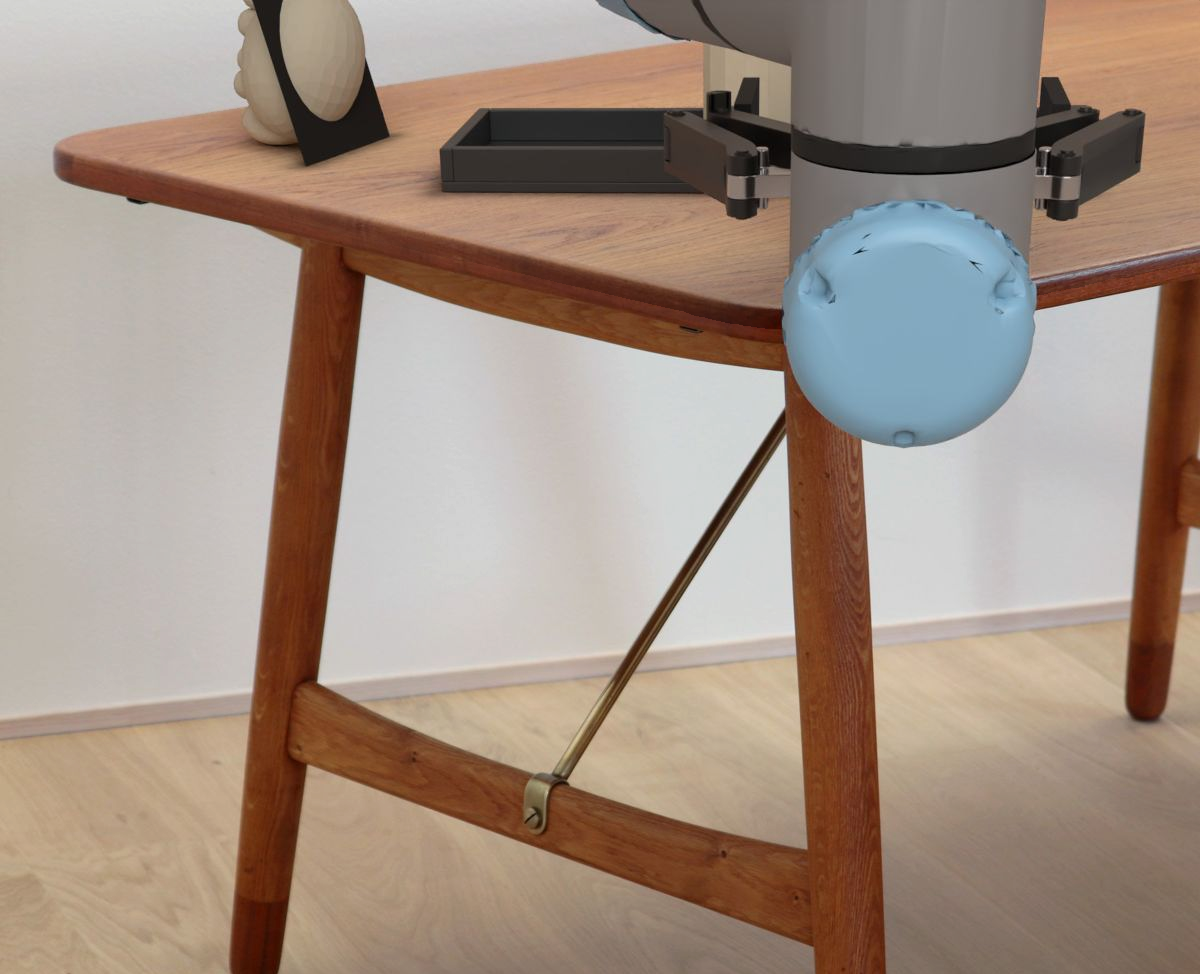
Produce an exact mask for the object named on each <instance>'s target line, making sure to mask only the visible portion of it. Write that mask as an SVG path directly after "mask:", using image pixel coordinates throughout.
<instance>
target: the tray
mask: <svg viewBox="0 0 1200 974" xmlns="http://www.w3.org/2000/svg"><path fill="white" fill-rule="evenodd" d="M674 109H681V110H683V111H684V112H690V113H692V114H694V115H696V116H698V117H701V118H703V107H491V108H490V107H480V108H478V109H477V110H476V111H475V112H474V113H473V114H472V115H471V116H470V117H469V119H468V120H467V121H466V122H464V123H463V125H461V126H460V128H458V130H456V132H454V134H453V135H452V136H451V137H450V138H449V139H448V140H447V141H446V142H445V143H444V144H443V145H442V146H441V147H440V148H439V151H438V152H439V165H440V166H439V167H440V180H441V182H440V183H441V192H443V193H625V194H626V193H628V194H629V193H633V194H634V193H638V194H639V193H641V194H642V193H643V194H646V193H647V194H649V193H651V194H653V193H655V194H658V193H659V194H661V193H662V194H663V193H664V194H675V193H676V194H704V193H703V192H702V191H700V190H698V189H696V188H694V187H693V186H691V185H689V184H687V183H686V182H684V181H682V180H680V179H679V178H677V177H675V176H673V175H672V174H670V173H668V172H666V171H665V170H664V113H667V111H672V110H674ZM1036 118H1039V106H1037V112H1036Z"/></svg>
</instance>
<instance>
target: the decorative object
mask: <svg viewBox="0 0 1200 974" xmlns="http://www.w3.org/2000/svg"><path fill="white" fill-rule="evenodd" d="M242 1H243V2H244V4H245V5H246V7H248V8H246V9H244V10H242V12H241V13H240V14H239V16H238V19H237V30H238V32H239V33H240V34H241V35H242V36H243V41H242V46H241V48H240V49H239V51H238V52H237V56H236V63H237V65H238V67H239V69H240V70H239V71H238V72H237V73H236V74H235V75H234V79H233V89H234V91H235V93H236V94H237V95H238V96H239V97H240V98H242V99H244V100H246V101H247V102H246V103H247V104H248V106H247V107H246V108H245V109H244V111H243V113H242V115H241V126H242V128H243V130H244V131H245V132H246V133H247V135H248V136H249V137H251V138H252V139H254V140H255V141H258V142H260V143H263V144H267V145H273V146H274V145H275V146H276V145H277V146H285V145H293V144H298V146H299V149H300V152H301V155H302V159H303V162H304V164H305V167H309V166H312V165H314V164H317V163H320V162H323V161H325V160H329V159H332V158H334V157H337V156H339V155H342V154H345V153H348V152H350V151H354V150H356V149H360V148H362V147H365V146H368V145H370V144H373V143H376V142H379V141H381V140H382V141H383V140H384V139H388V138H389V137H391V136H390V131H389V128H388V125H387V121H386V119H385V115H384V112H383V109H382V106H381V105H382V104H381V102H380V99H379V95H378V92H377V89H376V87H375V83H374V80H373V77H372V74H371V71H370V67H369V64H368V60H367V58H366V43H365V36H364V31H363V26H362V24H361V21H360V19H359V16H358V14H357V12H356V10H355V8H354V7H353V6H352V4H351V2H350V1H349V0H242Z"/></svg>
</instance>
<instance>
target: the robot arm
mask: <svg viewBox="0 0 1200 974" xmlns="http://www.w3.org/2000/svg"><path fill="white" fill-rule="evenodd" d="M595 1H596V2H597V3H598V5H599V6H600V7H602V8H603V9H606V10H607V11H610V12H612V13H613V14H615V15H617V16H619V17H622V18H624V19H626V20H629V21H631V22H633V23H636V24H637V25H639V26H640V27H641V28H643V29H644V30H646V31H648V32H649V33H651V34H654V35H663V36H665V37H666V38H669V39H670V40H673V41H686V42H691V41H692V42H693V41H694V42H698V43H702V44H703V43H706V44H710V45H715V46H719V47H723V48H728V49H732V50H736V51H739V52H742V53H745V54H748V55H752V56H755V57H758V58H761V59H765V60H769V61H772V62H776V63H779V64H783V65H786V66H790V67H791V124H790V123H786V122H782V121H778V120H774V119H770V118H766V117H762V116H759V90H760V77H743V80H742V83H741V86H740V89H739V92H738V94H737V97H736V100H735V103H734V106H731V91H723V90H721V91H710V92H707V93H706V120H705V119H703V118H701V117H698V116H696V115H694V114H692V113H690V112H684V111H683V110H681V109H674V110H672V111H667V113H664V170H665V171H666V172H668V173H670V174H672V175H673V176H675V177H677V178H679V179H680V180H682V181H684V182H686V183H687V184H689V185H691V186H693V187H694V188H696V189H698V190H700V191H702V192H703V193H702V194H705V195H707V196H709V197H710V198H711V199H714V200H716V201H717V202H719V203H721V204H723V205H724V206H725V212H726V216H727V217H730V218H734V219H736V220H738V221H746V220H749V219H752V218H754V217H757V215H758V211H759V210H760V211H761V210H766V209H768V208H769V199H777V198H778V199H782V198H786V199H787V198H789V200H790V201H789V247H788V248H789V249H788V252H789V254H788V277H786V278H785V280H784V284H783V289H782V300H781V301H782V302H781V329H782V330H781V331H782V339H783V344H784V346H785V349H786V353H787V359H788V362H789V365H790V369H791V372H792V374H793V376H794V379H795V381H796V382H797V385H798V387H799V388H800V391H801V392H802V394H803V395H804V396H805V398H806V399H807V401H808V402H809V403H810V404H811V406H813V408H814V409H815V410H816V411H817V412H818V413H819V414H821V416H823V417H824V418H825V419H826V420H827V421H828V422H829V423H831V424H832V425H834V426H835V427H836V428H838V429H839V430H841V431H842V432H845V433H847V434H849V435H851V436H853V437H855V438H857V439H859V440H862V441H865V442H867V443H868V442H869V443H872V444H875V445H881V446H886V447H895V448H900V449H908V448H918V447H919V448H920V447H927V446H928V447H929V446H933V445H934V446H935V445H939V444H942V443H945V442H948V441H951V440H954V439H957V438H959V437H961V436H963V435H966V434H967V433H969V432H971V431H973V430H975V429H976V428H978V427H980V426H981V425H982V424H984V423H985V422H986V421H987V420H989V419H990V418H991V417H992V416H993V415H994V414H996V413H997V412H998V411H999V410H1000V409H1001V408H1002V407H1003V406H1004V405H1005V404H1006V403H1007V402H1008V400H1009V399H1010V398H1011V397H1012V395H1013V394H1014V393H1015V391H1016V389H1017V387H1018V386H1019V385H1020V383H1021V380H1022V378H1023V376H1024V375H1025V372H1026V369H1027V368H1028V364H1029V361H1030V358H1031V354H1032V349H1033V343H1034V336H1035V333H1036V332H1035V331H1036V321H1035V318H1034V316H1035V313H1036V310H1037V305H1038V291H1037V289H1038V288H1037V284H1036V282H1035V281H1033V280H1032V279H1031V277H1030V249H1031V237H1032V236H1031V235H1032V221H1033V208H1034V210H1036V211H1044V212H1046V213H1045V216H1046V217H1047V218H1049V219H1052V220H1054V221H1057V222H1067V221H1069V220H1074V219H1077V218H1078V217H1079V208H1080V207H1081V206H1082V205H1085V204H1086V203H1087V202H1089V201H1092V200H1093V199H1095V198H1096V197H1098V196H1100V195H1102V194H1104V193H1105V192H1107V191H1109V190H1110V189H1112V188H1114V187H1115V186H1118V185H1119V184H1121V183H1123V182H1125V181H1126V180H1128V179H1130V178H1131V177H1133V176H1135V175H1137V174H1138V173H1140V172H1141V169H1142V157H1143V144H1144V135H1145V125H1146V116H1147V115H1146V114H1147V113H1146V112H1144V111H1143V110H1140V109H1137V108H1125V109H1124V110H1120V111H1116V112H1114V113H1111V114H1110V115H1108V116H1106V117H1104V118H1100V114H1101V110H1100V109H1098V108H1093V107H1092V106H1091V105H1088V104H1072V103H1071V101H1070V99H1069V97H1068V94H1067V92H1066V90H1065V88H1064V86H1063V84H1062V82H1061V80H1060V78H1059V76H1040V75H1041V64H1042V55H1043V54H1042V53H1043V42H1044V32H1045V31H1044V30H1045V21H1046V20H1045V19H1046V10H1047V9H1046V8H1047V0H595ZM1040 77H1041V79H1040ZM1039 89H1040V93H1039ZM1038 100H1039V105H1038ZM1037 107H1039V118H1036V112H1037Z"/></svg>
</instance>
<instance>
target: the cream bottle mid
mask: <svg viewBox="0 0 1200 974" xmlns="http://www.w3.org/2000/svg"><path fill="white" fill-rule="evenodd" d="M743 77H760V90H759V116H762V117H766V118H770V119H774V120H778V121H782V122H786V123H790V124H791V67H790V66H786V65H783V64H779V63H776V62H772V61H769V60H765V59H761V58H758V57H755V56H752V55H748V54H745V53H742V52H739V51H736V50H732V49H728V48H723V47H719V46H715V45H710V44H706V43H702V79H703V80H702V88H703V89H702V91H703V92H702V93H703V94H702V96H703V98H702V99H703V105H702V108H703V119H705V120H706V93H707V92H710V91H721V90H723V91H731V106H734V103H735V100H736V97H737V94H738V92H739V89H740V86H741V83H742V80H743Z"/></svg>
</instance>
